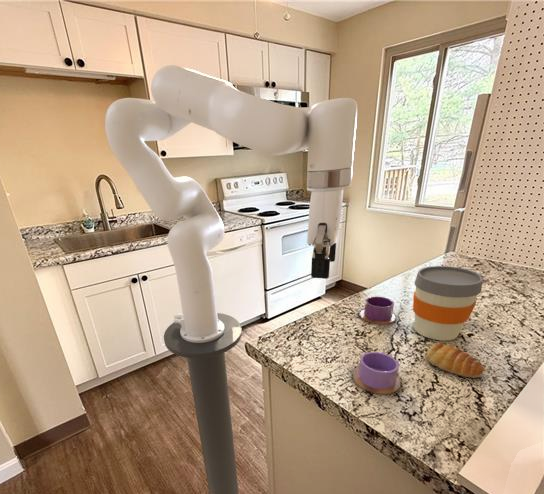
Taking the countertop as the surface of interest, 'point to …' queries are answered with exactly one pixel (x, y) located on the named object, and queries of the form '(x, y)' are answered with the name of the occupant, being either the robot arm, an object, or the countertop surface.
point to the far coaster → (376, 321)
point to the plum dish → (378, 308)
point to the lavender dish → (378, 370)
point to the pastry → (454, 360)
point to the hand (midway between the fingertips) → (323, 268)
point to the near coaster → (373, 390)
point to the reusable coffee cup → (444, 300)
